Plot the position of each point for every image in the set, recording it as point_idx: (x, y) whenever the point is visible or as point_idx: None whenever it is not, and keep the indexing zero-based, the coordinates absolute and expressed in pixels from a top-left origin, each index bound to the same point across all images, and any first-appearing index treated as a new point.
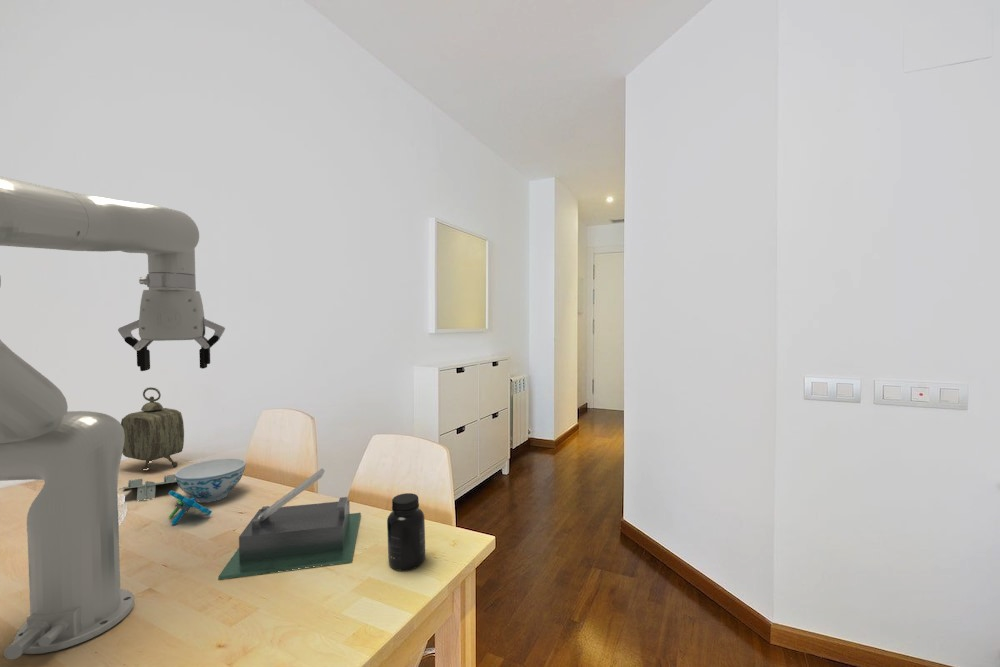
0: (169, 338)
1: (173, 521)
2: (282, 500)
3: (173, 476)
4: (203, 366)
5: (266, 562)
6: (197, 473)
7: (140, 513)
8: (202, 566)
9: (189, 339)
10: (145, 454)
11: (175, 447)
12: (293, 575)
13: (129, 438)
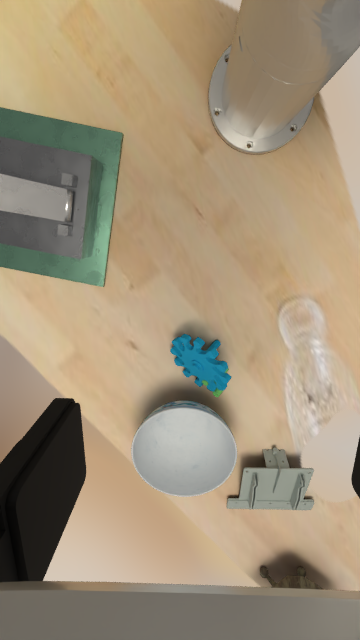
0: (292, 600)
1: (216, 342)
2: (16, 184)
3: (250, 501)
4: (54, 399)
5: (66, 144)
6: (210, 471)
7: (269, 402)
8: (151, 186)
9: (17, 582)
10: (307, 586)
11: None
12: (27, 99)
13: None
